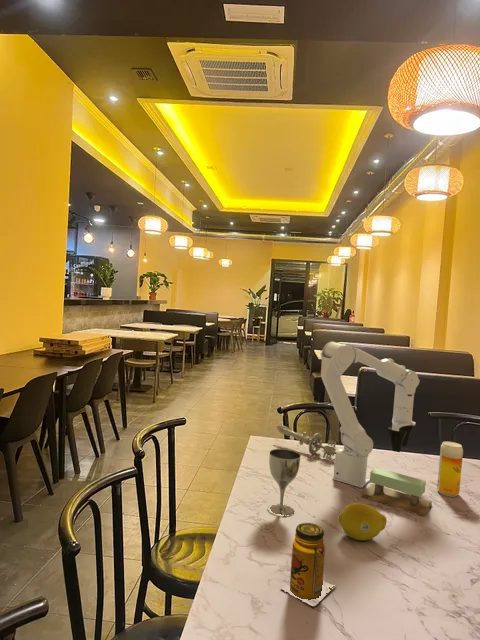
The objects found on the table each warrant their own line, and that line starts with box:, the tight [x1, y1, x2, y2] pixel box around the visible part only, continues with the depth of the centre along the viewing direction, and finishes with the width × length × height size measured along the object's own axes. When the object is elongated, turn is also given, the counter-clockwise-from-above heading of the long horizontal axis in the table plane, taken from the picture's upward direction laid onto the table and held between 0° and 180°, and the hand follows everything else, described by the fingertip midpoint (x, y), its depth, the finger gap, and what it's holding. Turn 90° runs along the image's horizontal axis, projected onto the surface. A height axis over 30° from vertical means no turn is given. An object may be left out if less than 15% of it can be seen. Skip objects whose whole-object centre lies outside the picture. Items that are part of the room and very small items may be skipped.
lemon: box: [337, 502, 387, 541], centre depth 104 cm, size 11×8×8 cm
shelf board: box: [369, 467, 427, 498], centre depth 126 cm, size 14×5×3 cm, turn 55°
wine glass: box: [268, 448, 301, 517], centre depth 115 cm, size 8×8×15 cm
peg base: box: [360, 483, 433, 517], centre depth 126 cm, size 17×9×4 cm, turn 55°
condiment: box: [284, 522, 337, 600], centre depth 84 cm, size 7×8×12 cm
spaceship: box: [276, 424, 338, 462], centre depth 161 cm, size 8×35×8 cm
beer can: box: [436, 440, 464, 498], centre depth 133 cm, size 6×6×15 cm
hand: (399, 448), depth 142 cm, fingers open, 7 cm apart
